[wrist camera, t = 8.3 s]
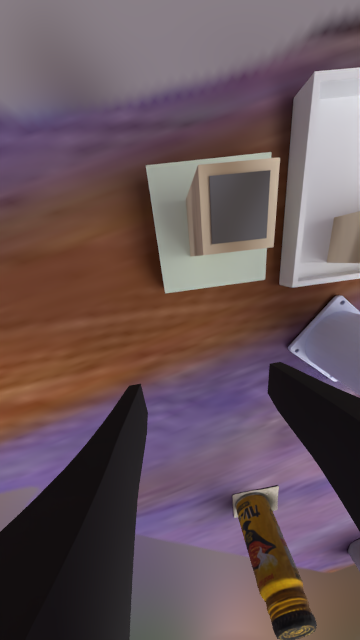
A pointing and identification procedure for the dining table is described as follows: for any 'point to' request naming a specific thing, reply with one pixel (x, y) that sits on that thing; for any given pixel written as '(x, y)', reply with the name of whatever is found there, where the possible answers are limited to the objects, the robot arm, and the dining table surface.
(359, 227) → the plain block
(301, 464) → the dining table surface
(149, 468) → the dining table surface
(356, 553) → the pillar candle
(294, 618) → the condiment
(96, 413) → the dining table surface
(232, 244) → the labelled block
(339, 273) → the parts tray
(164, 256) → the sage stand
